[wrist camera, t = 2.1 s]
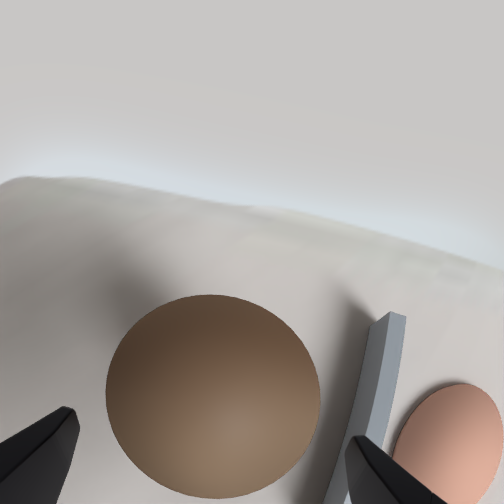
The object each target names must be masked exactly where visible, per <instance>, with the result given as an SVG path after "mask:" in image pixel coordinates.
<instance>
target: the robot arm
mask: <svg viewBox="0 0 504 504" xmlns="http://www.w3.org/2000/svg"><path fill="white" fill-rule="evenodd" d="M79 432H80V424H79V421H78V418H77V415H76V412H75V410H74V409H72V408H69V407H66V406H62V407H60V408H59V409H57V410H55V411H54V412H52V413H50V414H49V415H47V416H45V417H44V418H42V419H40V420H39V421H37V422H35V423H34V424H32V425H30V426H29V427H27V428H25V429H24V430H22V431H20V432H19V433H17V434H15V435H13V436H12V437H10V438H8V439H7V440H5V441H3V442H1V443H0V504H56V503H57V500H58V497H59V495H60V492H61V489H62V487H63V484H64V481H65V479H66V476H67V474H68V471H69V468H70V465H71V462H72V458H73V454H74V450H75V446H76V443H77V439H78V436H79ZM344 458H345V465H346V473H347V482H348V490H349V495H350V500H351V504H448V503H447V502H445V501H444V500H443V499H441V498H440V497H439V496H437V495H436V494H435V493H432V491H431V490H430V489H428V488H427V487H426V486H425V485H423V484H422V483H421V482H420V481H418V480H417V479H416V478H415V477H414V476H412V475H411V474H410V473H409V472H407V471H406V470H405V469H404V468H403V467H401V466H400V465H399V464H398V463H397V462H396V461H394V460H393V459H392V458H391V457H390V456H388V455H387V454H386V453H385V452H384V451H383V450H381V449H380V448H379V447H378V446H377V445H376V444H375V443H373V442H372V441H371V440H370V439H369V438H368V437H367V436H365V435H354V436H352V437H351V439H350V441H349V443H348V445H347V447H346V450H345V453H344Z"/></svg>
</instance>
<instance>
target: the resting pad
mask: <svg viewBox="0 0 504 504" xmlns="http://www.w3.org/2000/svg"><path fill="white" fill-rule="evenodd" d="M502 449H503V426H502V421H501V417H500V414H499V411H498V409H497V407H496V405H495V403H494V401H493V400H492V399H491V397H490V396H489V395H488V394H487V393H486V392H484V391H483V390H482V389H480V388H478V387H476V386H473V385H468V384H457V385H453V386H449V387H445V388H443V389H440V390H438V391H436V392H435V393H433V394H431V395H430V396H429V397H427V398H426V399H425V400H424V401H423V402H422V403H421V404H420V405H419V406H418V407H417V408H416V409H415V410H414V411H413V413H412V414H411V415H410V417H409V418H408V420H407V421H406V423H405V425H404V427H403V429H402V430H401V433H400V435H399V437H398V440H397V442H396V445H395V449H394V452H393V457H392V459H393V460H394V461H396V462H397V463H398V464H399V465H400V466H401V467H403V468H404V469H405V470H406V471H407V472H409V473H410V474H411V475H412V476H414V477H415V478H416V479H417V480H418V481H420V482H421V483H422V484H423V485H425V486H426V487H427V488H428V489H430V490H431V491H432V493H435V494H436V495H437V496H439V497H440V498H441V499H443V500H444V501H445V502H447V503H448V504H476V503H477V502H478V501H479V500H480V499H481V497H482V496H483V495H484V494H485V492H486V491H487V489H488V488H489V486H490V484H491V482H492V481H493V479H494V476H495V474H496V472H497V469H498V466H499V463H500V459H501V455H502Z"/></svg>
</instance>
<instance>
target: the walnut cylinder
mask: <svg viewBox="0 0 504 504" xmlns="http://www.w3.org/2000/svg"><path fill="white" fill-rule="evenodd" d="M106 407H107V412H108V417H109V421H110V424H111V427H112V430H113V433H114V435H115V437H116V439H117V441H118V443H119V445H120V446H121V448H122V449H123V451H124V452H125V453H126V455H127V456H128V457H129V459H130V460H131V461H132V462H133V463H134V464H135V465H136V466H137V467H138V468H139V469H140V470H141V471H142V472H143V473H145V474H146V475H147V476H148V477H150V478H151V479H153V480H154V481H156V482H157V483H159V484H161V485H163V486H165V487H167V488H169V489H171V490H173V491H176V492H179V493H182V494H185V495H188V496H194V497H199V498H210V499H222V498H233V497H238V496H242V495H247V494H250V493H252V492H255V491H258V490H260V489H262V488H264V487H266V486H268V485H270V484H272V483H274V482H275V481H276V480H278V479H279V478H281V477H282V476H283V475H285V474H286V473H287V472H288V471H289V470H290V469H291V468H292V467H293V466H294V465H295V464H296V463H297V462H298V460H299V459H300V458H301V456H302V455H303V454H304V452H305V451H306V449H307V447H308V445H309V444H310V442H311V440H312V437H313V435H314V432H315V430H316V426H317V422H318V418H319V411H320V387H319V381H318V376H317V373H316V370H315V366H314V363H313V361H312V359H311V357H310V355H309V353H308V351H307V349H306V348H305V346H304V344H303V343H302V341H301V340H300V339H299V337H298V336H297V335H296V334H295V333H294V331H293V330H292V329H291V328H290V327H289V326H288V325H287V324H285V323H284V322H283V321H282V320H281V319H279V318H278V317H277V316H275V315H274V314H273V313H271V312H269V311H268V310H266V309H264V308H262V307H261V306H258V305H256V304H254V303H251V302H249V301H246V300H242V299H239V298H235V297H230V296H224V295H196V296H190V297H185V298H181V299H178V300H175V301H171V302H169V303H167V304H165V305H162V306H160V307H158V308H156V309H155V310H153V311H152V312H150V313H148V314H147V315H146V316H144V317H143V318H142V319H141V320H139V321H138V322H137V323H136V324H135V325H134V326H133V327H132V328H131V329H130V330H129V331H128V333H127V334H126V335H125V337H124V338H123V339H122V341H121V342H120V344H119V346H118V348H117V350H116V351H115V353H114V356H113V358H112V361H111V364H110V367H109V371H108V375H107V381H106Z"/></svg>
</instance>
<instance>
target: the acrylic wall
mask: <svg viewBox="0 0 504 504" xmlns="http://www.w3.org/2000/svg"><path fill="white" fill-rule="evenodd" d="M405 324H406V316H403V315H400V314H397V313H394V312H389V313H387V314H386V315H385V316H383V317H382V318H381V319H379V320H378V321H377V322H375V323H374V324H373V325H371V326H370V329H369V334H368V340H367V345H366V350H365V355H364V360H363V365H362V369H361V374H360V378H359V383H358V387H357V391H356V395H355V399H354V403H353V407H352V411H351V415H350V419H349V422H348V426H347V430H346V433H345V437H344V440H343V443H342V447H341V450H340V453H339V457H338V460H337V463H336V466H335V469H334V472H333V475H332V478H331V481H330V484H329V487H328V489H327V492H326V495H325V498H324V500H323V503H322V504H351V500H350V495H349V490H348V482H347V473H346V465H345V458H344V453H345V450H346V447H347V445H348V443H349V441H350V439H351V437H352V436H354V435H365V436H367V437H368V438H369V439H370V440H371V441H372V442H373V443H375V444H376V445H377V446H378V447H379V448H380V449H381V448H382V444H383V441H384V437H385V433H386V429H387V425H388V421H389V416H390V412H391V408H392V403H393V398H394V393H395V388H396V383H397V378H398V372H399V366H400V360H401V354H402V347H403V340H404V332H405Z"/></svg>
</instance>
